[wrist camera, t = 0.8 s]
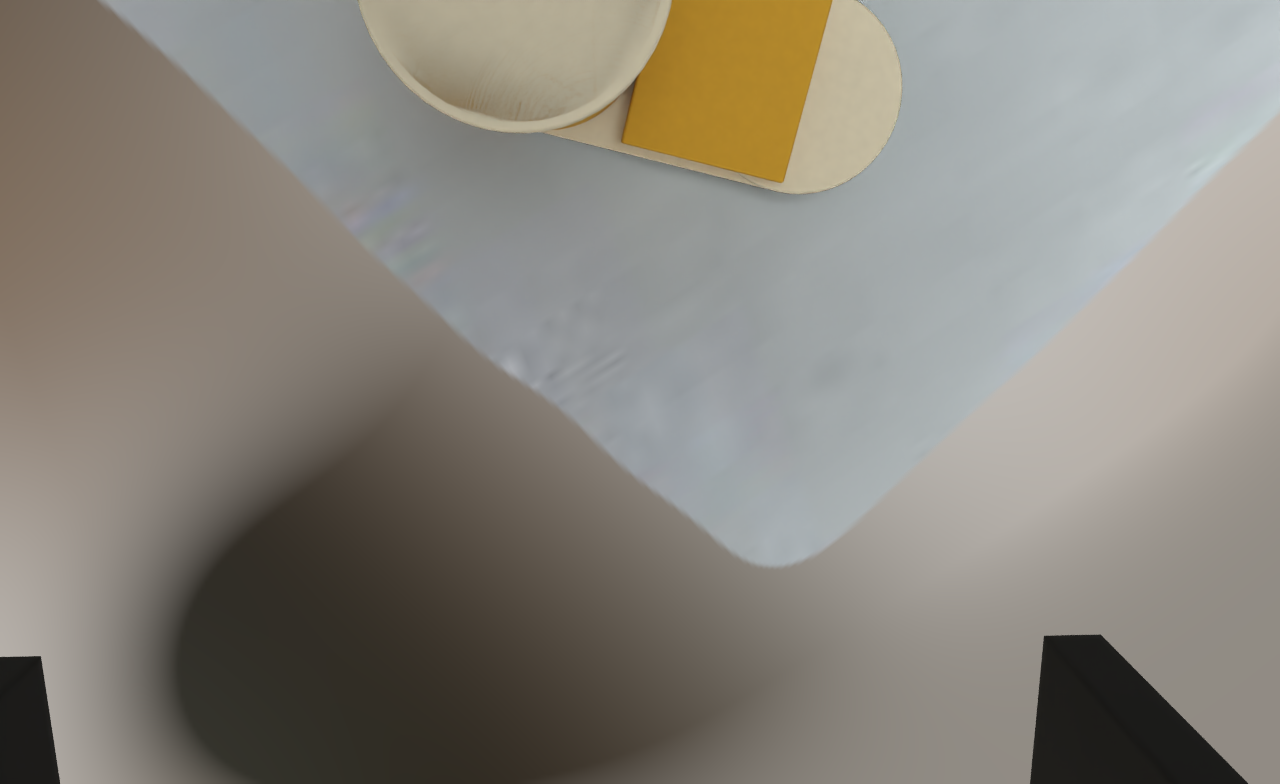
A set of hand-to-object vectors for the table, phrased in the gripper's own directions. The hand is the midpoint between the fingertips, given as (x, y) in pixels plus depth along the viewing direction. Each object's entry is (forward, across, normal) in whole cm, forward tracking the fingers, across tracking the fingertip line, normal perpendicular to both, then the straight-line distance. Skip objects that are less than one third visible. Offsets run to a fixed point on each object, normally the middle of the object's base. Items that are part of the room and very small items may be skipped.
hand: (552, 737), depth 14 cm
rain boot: (+26, +4, +10) cm, 28 cm away
